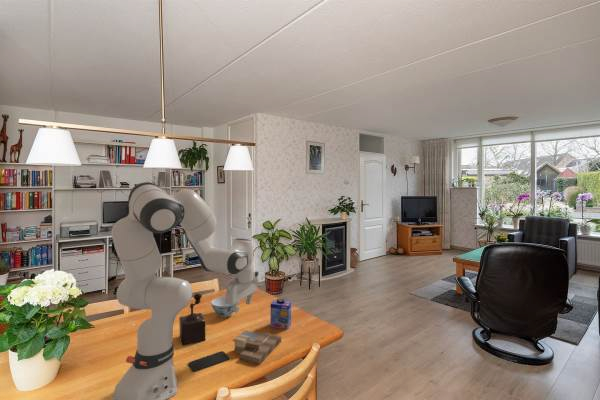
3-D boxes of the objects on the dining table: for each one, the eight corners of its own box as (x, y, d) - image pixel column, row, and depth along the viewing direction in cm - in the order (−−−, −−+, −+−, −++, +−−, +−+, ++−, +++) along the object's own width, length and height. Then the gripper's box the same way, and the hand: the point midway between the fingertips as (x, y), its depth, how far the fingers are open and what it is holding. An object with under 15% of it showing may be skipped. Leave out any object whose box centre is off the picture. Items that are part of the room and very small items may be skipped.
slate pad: (254, 345, 134) (254, 344, 134) (233, 340, 139) (233, 339, 139) (265, 335, 144) (265, 334, 144) (245, 331, 148) (245, 330, 148)
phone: (187, 362, 120) (222, 350, 129) (187, 364, 120) (222, 352, 129) (193, 371, 114) (230, 358, 123) (193, 373, 114) (230, 360, 123)
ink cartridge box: (269, 327, 152) (270, 299, 152) (272, 322, 158) (273, 295, 157) (288, 329, 150) (289, 300, 150) (291, 324, 156) (291, 297, 155)
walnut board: (259, 364, 120) (259, 358, 120) (240, 359, 123) (240, 353, 123) (281, 341, 138) (281, 336, 138) (263, 337, 142) (264, 332, 142)
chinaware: (244, 314, 167) (244, 300, 167) (221, 323, 156) (221, 308, 156) (228, 307, 177) (228, 294, 177) (205, 314, 166) (205, 301, 166)
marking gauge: (257, 357, 125) (257, 343, 125) (234, 352, 129) (234, 338, 129) (261, 353, 128) (261, 339, 128) (239, 347, 133) (239, 334, 132)
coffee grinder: (207, 340, 138) (207, 302, 138) (181, 346, 133) (181, 306, 132) (201, 326, 152) (201, 291, 151) (177, 331, 147) (177, 294, 146)
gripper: (234, 284, 118) (234, 318, 118) (260, 270, 137) (260, 300, 137) (221, 281, 120) (221, 315, 121) (248, 269, 139) (248, 298, 140)
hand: (242, 307), depth 129 cm, fingers open, 8 cm apart
